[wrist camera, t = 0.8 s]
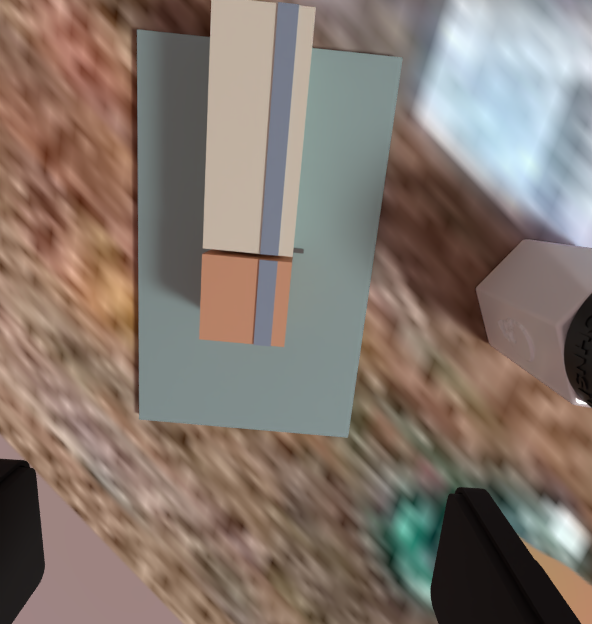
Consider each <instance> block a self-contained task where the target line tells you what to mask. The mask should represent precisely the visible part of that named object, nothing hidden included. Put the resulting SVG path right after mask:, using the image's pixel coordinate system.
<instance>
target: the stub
mask: <svg viewBox="0 0 592 624" xmlns="http://www.w3.org/2000/svg"><path fill="white" fill-rule="evenodd" d="M292 259H293V257H288V256H275V255H265V254H257V253H246V252H236V251H226V250H215V249H211V250H209V251H207V252H205V253H203V254H202V271H201V300H200V329H199V339H200V340H211V341H222V342H233V343H244V344H254V345H259V346H270V347H271V346H277V347H284V345H285V334H286V324H287V313H288V303H289V292H290V281H291V270H292Z"/></svg>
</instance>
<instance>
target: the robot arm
mask: <svg viewBox="0 0 592 624" xmlns="http://www.w3.org/2000/svg"><path fill="white" fill-rule="evenodd" d="M44 569H45V561H44V551H43V540H42V531H41V520H40V510H39V500H38V489H37V479H36V472H35V470H34V469H33V468H30V466H29V464H28V462H27V461H24V460H10V459H0V624H12V622H13V621H14V620H15V618H16V617H17V615H18V614H19V612H20V611H21V609H22V608H23V607H24V605H25V604H26V602H27V601H28V599H29V598H30V596H31V595H32V594H33V592H34V591H35V589H36V588H37V586H38V585H39V583H40V581H41V579H42V576H43V573H44ZM431 601H432V606H433V609H434V612H435V615H436V618H437V621H438V623H439V624H581V623H580V621H579V620H578V618H577V617H576V615H575V614H574V613H573V611H572V610H571V608H570V607H569V605H568V604H567V603H566V601H565V600H564V599H563V597H562V595H561V594H560V593H559V591H558V590H557V588H556V587H555V585H554V584H553V582H552V581H551V580H550V578H549V577H548V575H547V574H546V572H545V571H544V570H543V568H542V567H541V566H540V565H539V563H538V562H537V561H536V560H535V559H534V558H533V557H532V555H531V554H530V552H529V551H528V549H527V548H526V546H525V545H524V544H523V542H522V541H521V539H520V538H519V536H518V535H517V533H516V532H515V530H514V529H513V528H512V526H511V525H510V523H509V522H508V520H507V519H506V517H505V516H504V515H503V513H502V512H501V510H500V509H499V507H498V506H497V504H496V503H495V502H494V500H493V499H492V497H491V496H490V494H489V493H488V492H487V491H486V490H485V489H480V488H464V487H459V488H457V490H456V491H455V494H449V496H448V499H447V504H446V509H445V514H444V520H443V525H442V530H441V535H440V541H439V546H438V551H437V557H436V562H435V567H434V572H433V578H432V583H431Z"/></svg>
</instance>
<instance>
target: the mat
mask: <svg viewBox="0 0 592 624" xmlns="http://www.w3.org/2000/svg"><path fill="white" fill-rule="evenodd" d="M209 55H210V37H204V36H195V35H185V34H176V33H166V32H157V31H147V30H138V29H137V118H138V294H139V419H141V420H152V421H164V422H175V423H187V424H198V425H209V426H221V427H232V428H244V429H255V430H267V431H278V432H290V433H301V434H313V435H324V436H336V437H347V438H348V433H349V426H350V419H351V412H352V405H353V398H354V391H355V384H356V377H357V370H358V363H359V356H360V350H361V343H362V336H363V329H364V322H365V315H366V308H367V301H368V294H369V287H370V280H371V273H372V266H373V259H374V252H375V246H376V239H377V232H378V225H379V218H380V211H381V204H382V197H383V190H384V183H385V176H386V169H387V162H388V155H389V149H390V142H391V135H392V128H393V121H394V114H395V107H396V100H397V93H398V86H399V79H400V72H401V65H402V57H392V56H383V55H374V54H364V53H355V52H345V51H336V50H327V49H317V48H312V54H311V65H310V76H309V87H308V98H307V108H306V119H305V130H304V141H303V152H302V162H301V173H300V184H299V195H298V206H297V216H296V227H295V238H294V249H293V259H292V270H291V281H290V292H289V303H288V313H287V324H286V334H285V345H284V347H277V346H271V347H270V346H259V345H254V344H244V343H233V342H222V341H211V340H200V339H199V329H200V300H201V271H202V254H203V253H205V252H207V251H209V250H211V249H205V248H203V226H204V198H205V169H206V141H207V112H208V84H209Z"/></svg>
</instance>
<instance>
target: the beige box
mask: <svg viewBox="0 0 592 624" xmlns="http://www.w3.org/2000/svg"><path fill="white" fill-rule="evenodd" d="M315 10H316V7H307V6H299V4H290V3H280V2H278V3H270V2H261V1H251V0H211V27H210V55H209V84H208V112H207V141H206V169H205V198H204V226H203V248H205V249H215V250H226V251H236V252H246V253H257V254H265V255H275V256H288V257H293V249H294V238H295V227H296V216H297V206H298V195H299V184H300V173H301V162H302V152H303V141H304V130H305V119H306V108H307V98H308V87H309V76H310V65H311V54H312V43H313V32H314V21H315Z"/></svg>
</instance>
